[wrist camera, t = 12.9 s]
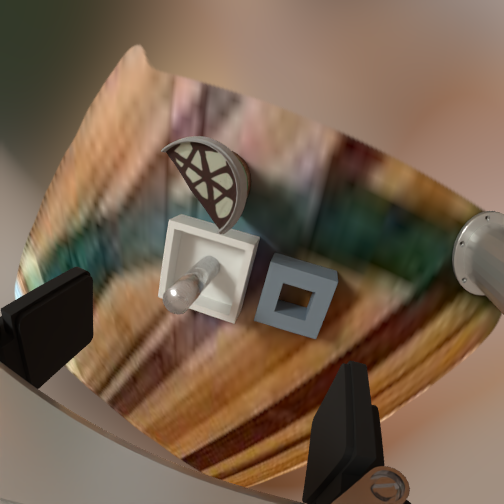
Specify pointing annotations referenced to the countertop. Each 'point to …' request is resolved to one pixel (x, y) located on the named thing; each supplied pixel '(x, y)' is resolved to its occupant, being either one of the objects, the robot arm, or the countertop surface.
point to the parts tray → (219, 246)
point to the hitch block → (288, 313)
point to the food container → (213, 177)
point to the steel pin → (191, 285)
